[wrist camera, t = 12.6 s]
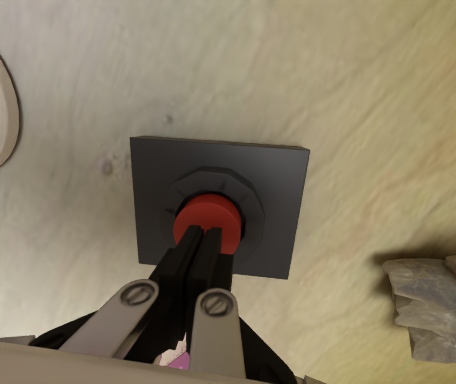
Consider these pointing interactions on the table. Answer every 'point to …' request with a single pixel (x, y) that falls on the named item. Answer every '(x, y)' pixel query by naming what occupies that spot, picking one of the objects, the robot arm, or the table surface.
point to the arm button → (211, 219)
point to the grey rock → (426, 305)
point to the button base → (224, 186)
